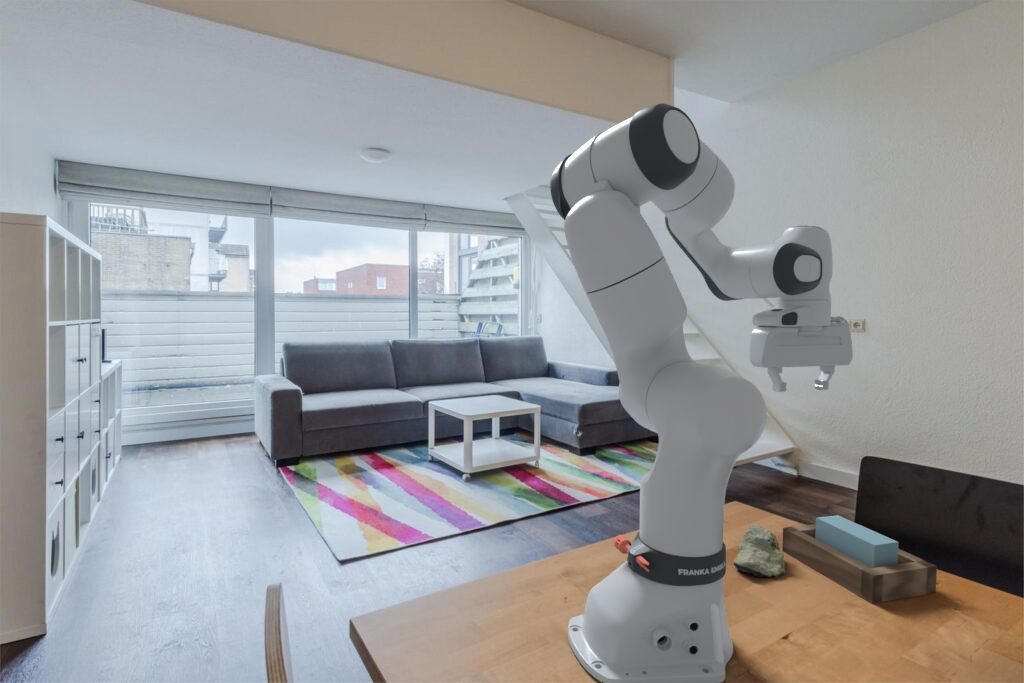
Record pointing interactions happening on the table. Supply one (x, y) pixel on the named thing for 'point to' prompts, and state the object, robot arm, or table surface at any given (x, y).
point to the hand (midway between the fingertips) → (800, 390)
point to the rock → (760, 553)
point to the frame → (861, 568)
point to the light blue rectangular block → (857, 541)
